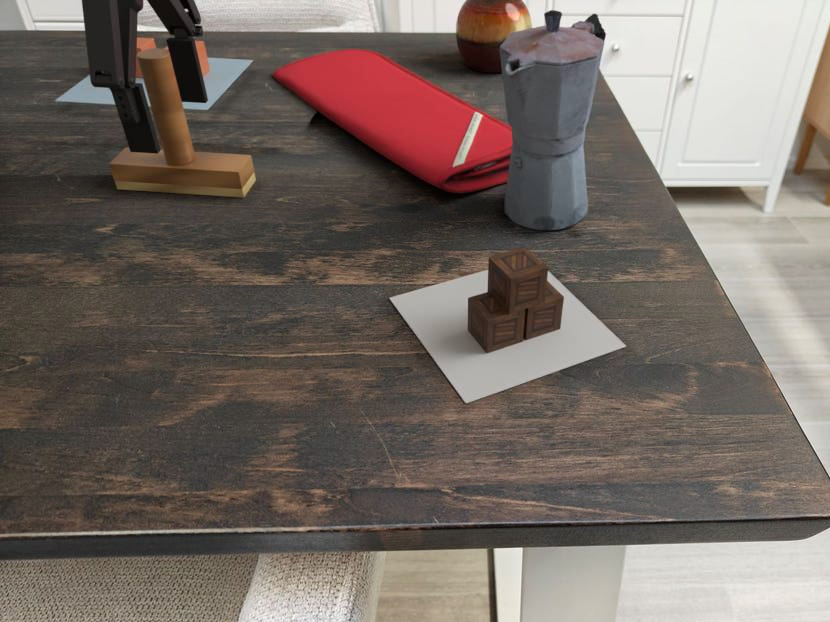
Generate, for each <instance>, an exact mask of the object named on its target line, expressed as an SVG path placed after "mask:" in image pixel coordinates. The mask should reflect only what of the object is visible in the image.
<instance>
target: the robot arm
mask: <svg viewBox="0 0 830 622" xmlns="http://www.w3.org/2000/svg"><path fill="white" fill-rule="evenodd" d="M146 1H147V3H148V4H149V6H150V7H151V8H152V10H153V12H154V13H155V14H156V16H157V17H158V19H159V20H160V22H161V24H162V25H163V26H164V28H165V29H166V31H167V33H168V34H169V35H170V36H173V37H167V38H166V40H165V41H166V44H167V46H168V49H169V52H170V56H171V60H172V64H173V68H174V72H175V76H176V80H177V84H178V89H179V93H180V97H181V101H182V102H195V103H206V102H207V101H208V97H207V93H206V88H205V84H204V79H203V75H202V71H201V66H200V62H199V57H198V53H197V48H196V44H195V41H196V39H195V38H202V37H203V35H204V29H203V26H202V25H201V22H202V17H201V14H200V11H199V9H198V7H197V4H196V1H195V0H146ZM81 6H82V7H81V8H82V15H83V23H84V34H85V43H86V53H87V61H88V69H89V71H88V72H89V75H90V80H91V84H92V85H93V86H94V87H102V88H109V89H110V90H111V92H112V95H113V98H114V102H115V105H114V106H115V107H116V111H117V114H118V118H119V120H120V123H121V126H122V129H123V133H124V135H125V139H126V143H127V146H128V147H129V149H130V152H139V153H155V154H158V153H159V152H160V151H161V146H160V145H161V144H160V142H159V139H158V134H157V131H156V126H155V125H154V121H153V117H152V112H151V109H150V107H149V106H148V102H147V99H146V95H145V92H144V88H143V84H142V83H136V54H137V38H138V17H139V16H138V14H139V12H141V11H142V10H143V9H144V0H81ZM186 10H187V11H186ZM102 71H103V73H102Z"/></svg>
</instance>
